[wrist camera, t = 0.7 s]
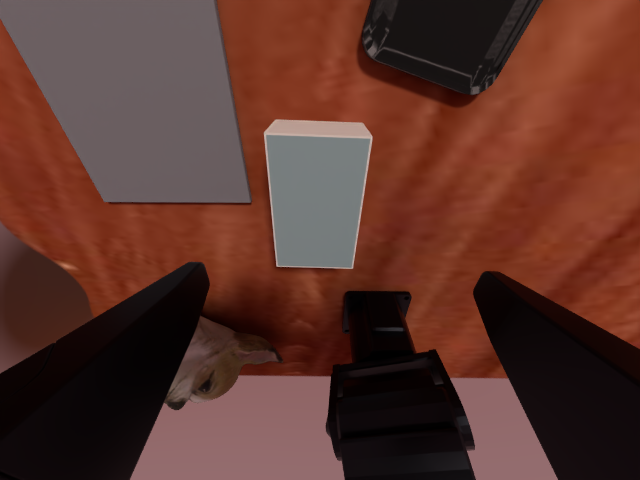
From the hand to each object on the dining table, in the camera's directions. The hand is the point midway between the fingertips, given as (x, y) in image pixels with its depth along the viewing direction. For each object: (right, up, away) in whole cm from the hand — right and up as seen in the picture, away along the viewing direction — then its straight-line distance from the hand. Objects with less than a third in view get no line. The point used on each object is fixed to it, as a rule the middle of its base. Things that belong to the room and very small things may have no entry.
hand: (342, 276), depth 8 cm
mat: (-11, +10, +7) cm, 16 cm away
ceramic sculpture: (-13, -9, +20) cm, 26 cm away
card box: (-1, +5, +10) cm, 12 cm away
